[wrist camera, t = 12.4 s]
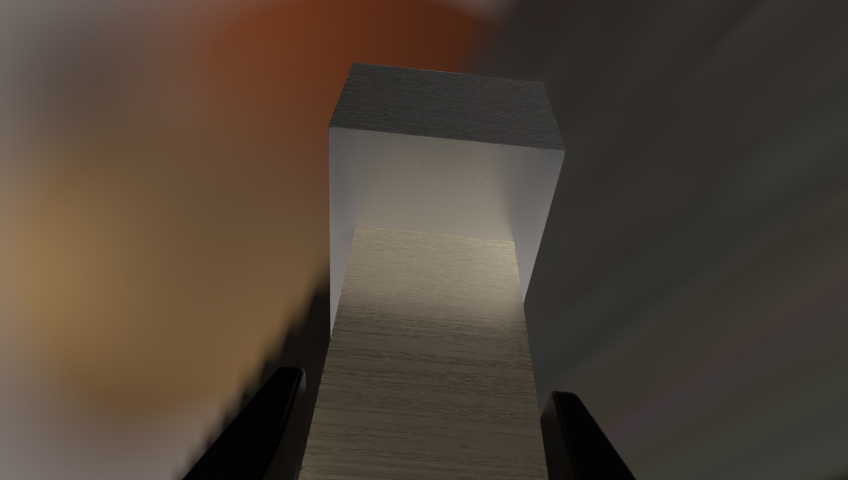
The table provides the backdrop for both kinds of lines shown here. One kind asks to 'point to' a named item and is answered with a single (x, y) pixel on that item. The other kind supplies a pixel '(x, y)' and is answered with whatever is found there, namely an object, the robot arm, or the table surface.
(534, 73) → the table surface
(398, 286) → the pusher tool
